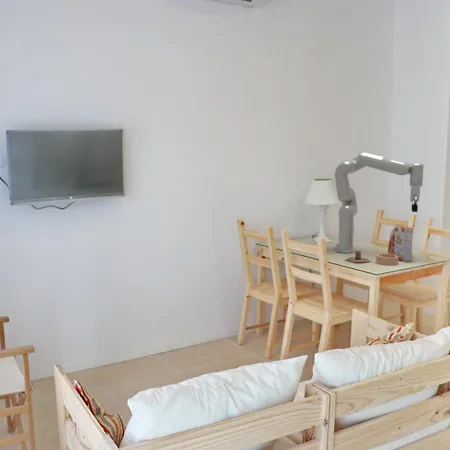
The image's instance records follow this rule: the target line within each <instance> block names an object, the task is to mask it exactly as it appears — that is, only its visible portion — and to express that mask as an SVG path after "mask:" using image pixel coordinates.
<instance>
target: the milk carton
mask: <svg viewBox="0 0 450 450" xmlns="http://www.w3.org/2000/svg"><path fill="white" fill-rule="evenodd" d="M394 242H395V227H393V228H392V229H391V230H390V235H389V242H388V249H387V254H394Z"/></svg>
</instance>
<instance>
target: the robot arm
mask: <svg viewBox="0 0 450 450" xmlns="http://www.w3.org/2000/svg"><path fill="white" fill-rule="evenodd" d="M366 167H368V168H371V169H374V170H375V169H377V170H379V171H382V172H387V173H389V174H390V173H391V174H395V175H398V176H405V175H406V176H407V175H409V187H410V195H409V196H410V197H409V198H410V199H409V202H411V212H412V213H418V210H419V209H418V208H419V207H418V204H419V201H420V193H421V187H423V184H424V183H423V181H424V164H423V163H416V162H415V163H412V162H411V163H409V162H400V161H396V160H391V159H389V158H387V157H386V156H384V155H383V156H382V155H379V154H375V153H371V152H369V151H361V152H360V153H358V154H357V156H355V157H354V158H352V159H349V160H345V161H342V162H341V163H339V164H338V165H337V167H336V168H335V171H334V180H335V187H336V192H337V195H336V196H337V199H338V200H339V201H340V202H341V203H342V205H341V206H340V207H339V209H338V243H337V244H335V247H337V248H335V251H336V252H337V253H342V254H353V253H356V250H355V249H354V233H355V232H354V230H355V228H354V227H355V221H354V220H355V219H354V217H355V216H356V215H357V213H358V203H357V197H356V193H355V190H354V189H353V188H351V187H350V181H349V178H348V176H349V174H354V173H356V172H358V171H360V170H361V169H364V168H366Z"/></svg>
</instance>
